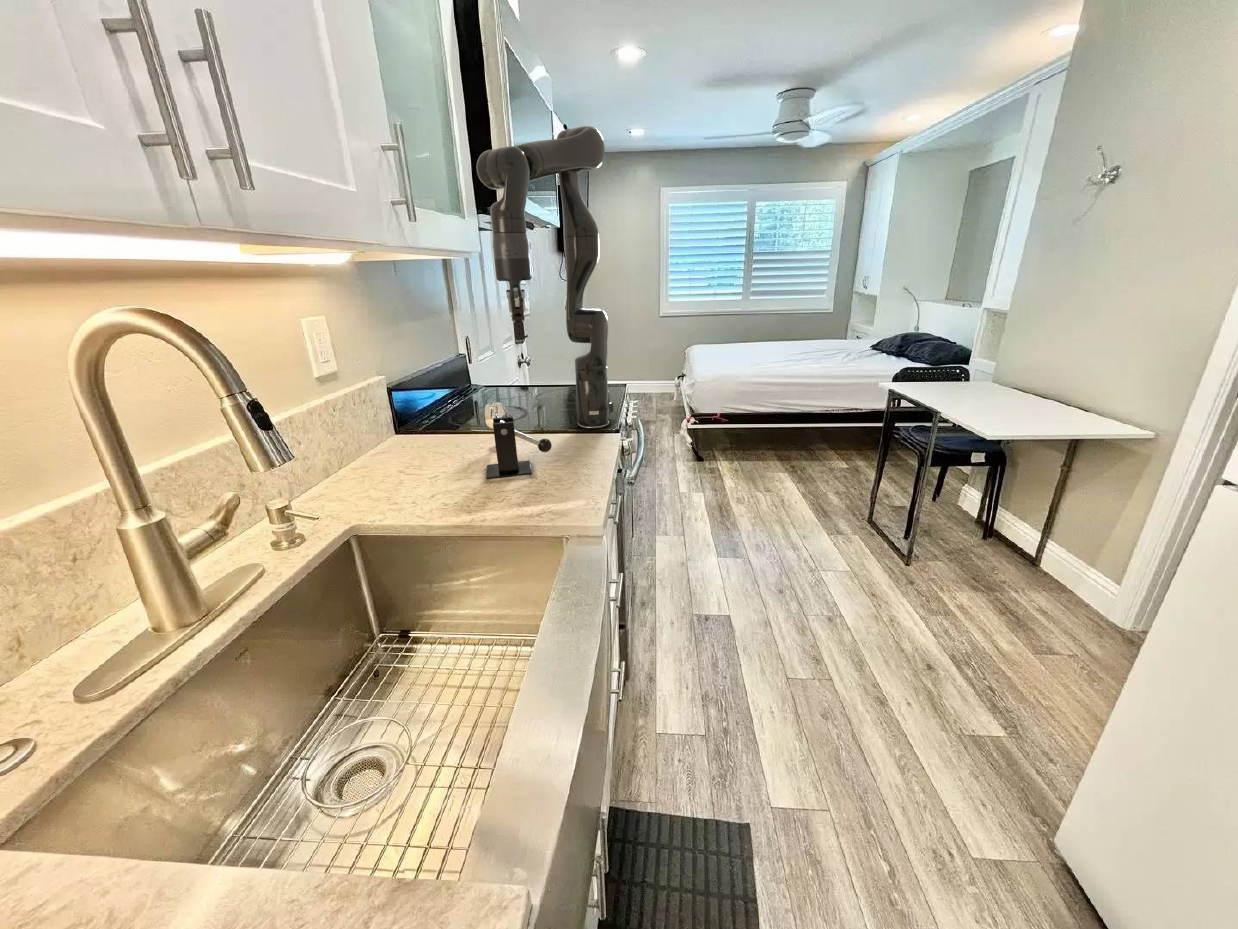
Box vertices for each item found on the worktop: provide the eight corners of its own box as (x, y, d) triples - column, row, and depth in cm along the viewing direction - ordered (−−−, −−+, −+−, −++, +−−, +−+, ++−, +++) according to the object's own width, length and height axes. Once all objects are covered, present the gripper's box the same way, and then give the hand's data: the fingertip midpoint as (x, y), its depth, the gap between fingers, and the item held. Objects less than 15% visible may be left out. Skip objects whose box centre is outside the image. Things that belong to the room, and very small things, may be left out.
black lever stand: (530, 464, 118) (525, 413, 113) (532, 477, 111) (526, 423, 106) (487, 469, 116) (480, 417, 111) (486, 482, 109) (479, 427, 104)
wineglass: (505, 453, 126) (500, 408, 121) (484, 452, 127) (478, 407, 123) (514, 445, 131) (509, 402, 127) (494, 444, 132) (488, 401, 128)
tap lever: (547, 451, 115) (553, 440, 115) (548, 456, 112) (554, 444, 112) (495, 429, 111) (501, 417, 110) (495, 433, 108) (501, 421, 107)
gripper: (531, 255, 100) (538, 342, 106) (527, 257, 112) (534, 335, 118) (493, 256, 98) (503, 344, 105) (494, 258, 110) (503, 336, 117)
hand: (520, 339), depth 111 cm, fingers closed
